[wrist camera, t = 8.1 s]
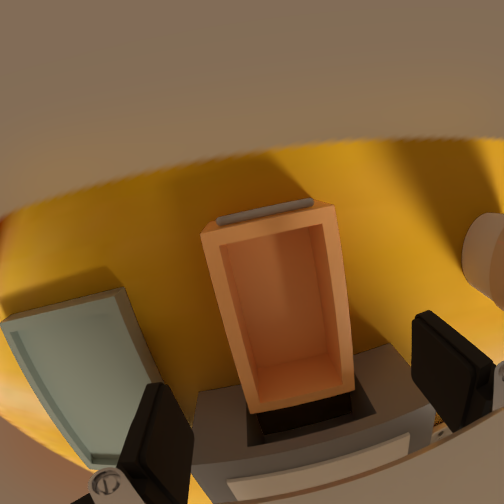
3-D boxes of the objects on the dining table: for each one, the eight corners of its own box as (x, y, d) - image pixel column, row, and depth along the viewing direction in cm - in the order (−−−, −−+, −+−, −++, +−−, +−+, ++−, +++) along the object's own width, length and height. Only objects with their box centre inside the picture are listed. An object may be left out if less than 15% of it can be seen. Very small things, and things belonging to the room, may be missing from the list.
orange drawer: (335, 352, 23) (355, 390, 18) (248, 372, 23) (250, 414, 18) (311, 191, 20) (332, 194, 15) (207, 213, 20) (197, 223, 16)
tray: (202, 454, 25) (200, 469, 23) (94, 457, 25) (89, 469, 23) (124, 286, 21) (114, 296, 19) (11, 314, 21) (-1, 323, 19)
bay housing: (227, 451, 25) (225, 521, 17) (198, 392, 23) (185, 469, 15) (390, 409, 25) (426, 469, 17) (390, 342, 23) (439, 402, 15)
